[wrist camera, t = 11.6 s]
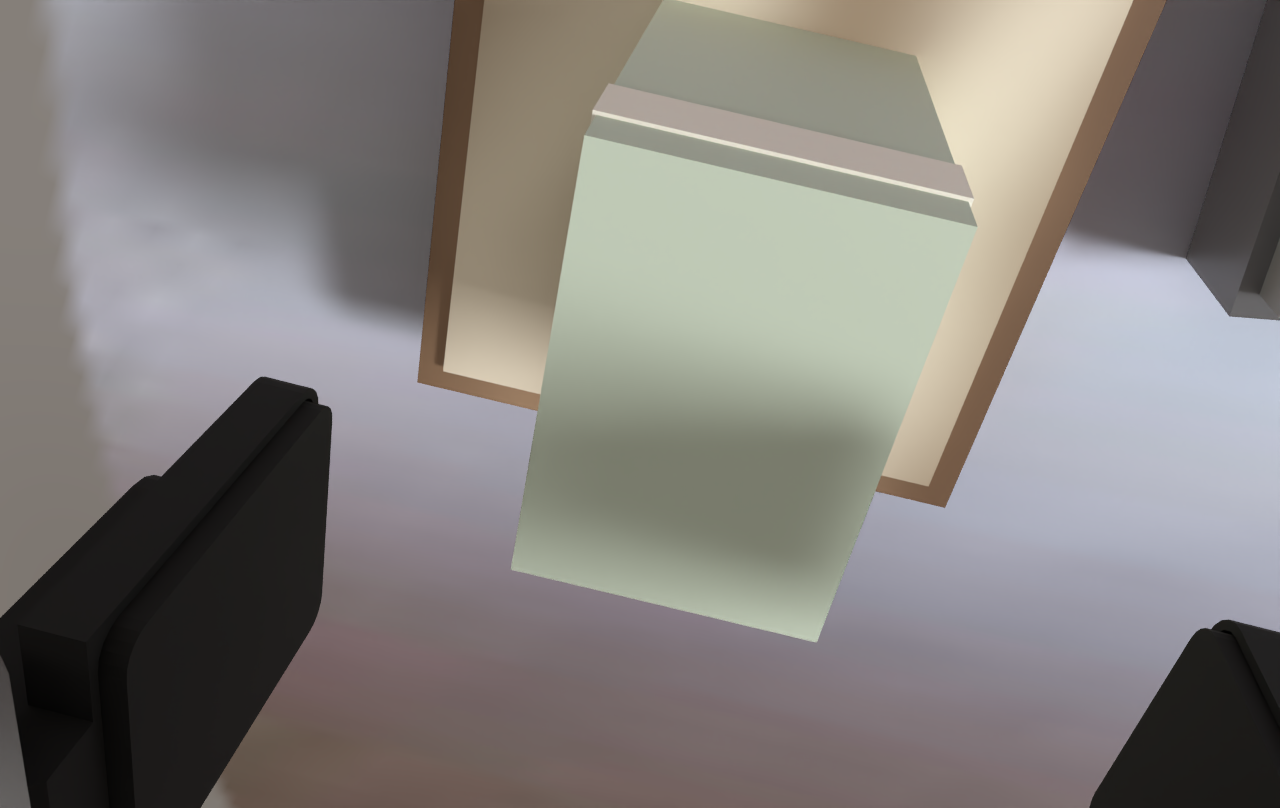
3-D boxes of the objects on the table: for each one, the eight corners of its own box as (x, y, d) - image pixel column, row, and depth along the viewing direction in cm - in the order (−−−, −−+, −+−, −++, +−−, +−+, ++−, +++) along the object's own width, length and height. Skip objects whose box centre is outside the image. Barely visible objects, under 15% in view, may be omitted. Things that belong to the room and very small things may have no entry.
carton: (919, 53, 19) (984, 223, 12) (815, 373, 22) (819, 645, 15) (662, -6, 19) (580, 129, 12) (597, 322, 22) (507, 570, 16)
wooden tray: (1146, -91, 20) (1201, -66, 17) (931, 434, 26) (946, 514, 24) (519, -235, 20) (473, -234, 17) (455, 322, 27) (413, 388, 24)
